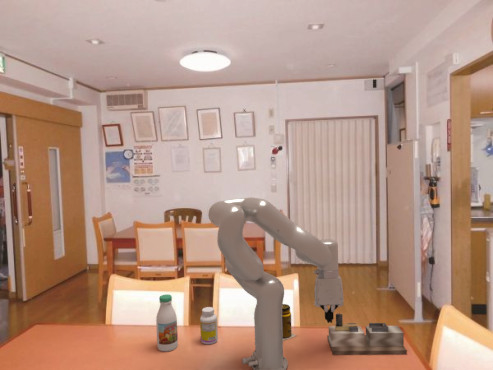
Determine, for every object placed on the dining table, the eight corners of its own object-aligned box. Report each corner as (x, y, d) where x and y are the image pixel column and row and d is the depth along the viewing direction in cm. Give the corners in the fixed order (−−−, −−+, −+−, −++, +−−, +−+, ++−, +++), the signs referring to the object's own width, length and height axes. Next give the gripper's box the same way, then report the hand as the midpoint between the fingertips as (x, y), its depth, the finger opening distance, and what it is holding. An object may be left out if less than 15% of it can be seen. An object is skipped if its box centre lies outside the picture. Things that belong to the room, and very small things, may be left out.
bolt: (335, 330, 140) (335, 316, 139) (334, 327, 142) (334, 313, 142) (357, 330, 139) (357, 315, 139) (356, 327, 142) (355, 313, 141)
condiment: (296, 336, 151) (295, 306, 150) (279, 342, 146) (278, 312, 145) (284, 329, 157) (283, 301, 156) (268, 335, 152) (267, 306, 152)
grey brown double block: (333, 354, 135) (332, 337, 135) (327, 339, 147) (327, 322, 147) (406, 354, 134) (406, 336, 134) (395, 338, 146) (394, 322, 146)
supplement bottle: (205, 336, 153) (204, 305, 152) (220, 338, 151) (219, 306, 150) (197, 343, 147) (196, 311, 146) (213, 346, 145) (212, 313, 144)
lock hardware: (350, 332, 139) (349, 327, 139) (347, 327, 143) (347, 323, 143) (388, 331, 138) (388, 327, 138) (384, 326, 142) (384, 322, 142)
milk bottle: (153, 349, 143) (150, 298, 142) (166, 340, 150) (164, 291, 149) (169, 353, 140) (166, 301, 138) (182, 344, 146) (179, 294, 145)
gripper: (309, 276, 136) (310, 326, 137) (350, 275, 136) (351, 325, 137) (306, 270, 144) (307, 317, 145) (346, 269, 143) (347, 316, 144)
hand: (329, 321), depth 141 cm, fingers closed
